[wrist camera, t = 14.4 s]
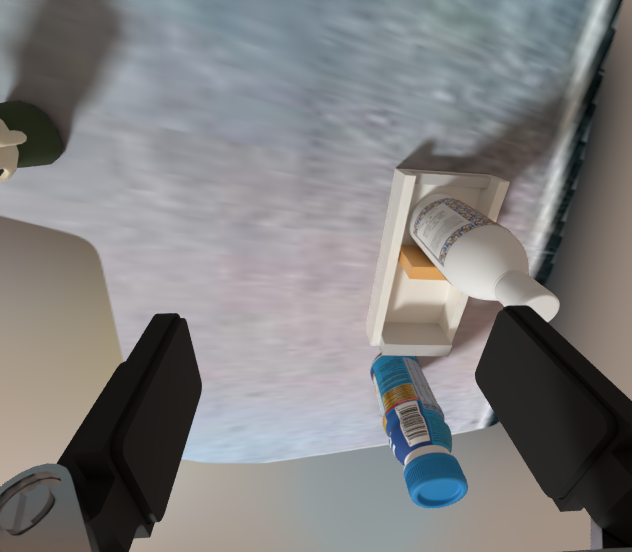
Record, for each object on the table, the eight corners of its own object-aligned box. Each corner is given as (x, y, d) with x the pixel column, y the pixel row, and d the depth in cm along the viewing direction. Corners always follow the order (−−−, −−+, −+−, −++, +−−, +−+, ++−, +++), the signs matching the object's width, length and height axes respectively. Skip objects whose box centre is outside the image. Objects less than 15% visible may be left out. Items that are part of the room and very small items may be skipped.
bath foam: (467, 229, 41) (594, 325, 24) (417, 253, 42) (501, 361, 25) (453, 182, 38) (586, 251, 21) (399, 209, 39) (481, 296, 22)
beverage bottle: (426, 352, 53) (491, 477, 35) (406, 387, 56) (455, 516, 39) (379, 343, 51) (422, 469, 34) (361, 380, 55) (392, 510, 37)
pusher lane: (395, 168, 38) (411, 179, 33) (490, 174, 39) (521, 186, 34) (365, 328, 49) (373, 355, 44) (439, 329, 50) (456, 356, 45)
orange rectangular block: (397, 244, 41) (412, 266, 36) (460, 247, 42) (485, 269, 37) (394, 255, 42) (409, 279, 37) (457, 258, 43) (480, 281, 37)
